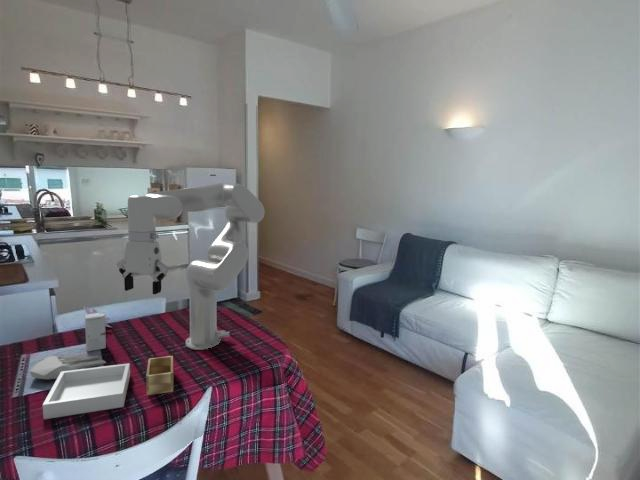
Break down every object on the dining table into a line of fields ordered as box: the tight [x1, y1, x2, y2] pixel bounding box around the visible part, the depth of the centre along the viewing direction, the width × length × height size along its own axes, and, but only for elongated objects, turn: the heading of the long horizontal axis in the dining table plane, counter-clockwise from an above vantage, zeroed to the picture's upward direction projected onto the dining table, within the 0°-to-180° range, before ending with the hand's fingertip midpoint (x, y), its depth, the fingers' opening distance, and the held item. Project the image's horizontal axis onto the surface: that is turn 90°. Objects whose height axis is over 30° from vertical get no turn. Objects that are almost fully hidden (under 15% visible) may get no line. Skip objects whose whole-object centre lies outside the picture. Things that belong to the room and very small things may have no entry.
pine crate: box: [145, 355, 174, 396], centre depth 114 cm, size 7×11×6 cm, turn 21°
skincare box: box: [84, 312, 107, 352], centre depth 134 cm, size 6×4×12 cm
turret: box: [29, 354, 107, 380], centre depth 119 cm, size 10×20×5 cm, turn 138°
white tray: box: [42, 363, 131, 420], centre depth 107 cm, size 18×17×4 cm
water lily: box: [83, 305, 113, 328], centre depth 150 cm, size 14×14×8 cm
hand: (142, 291), depth 117 cm, fingers open, 9 cm apart
